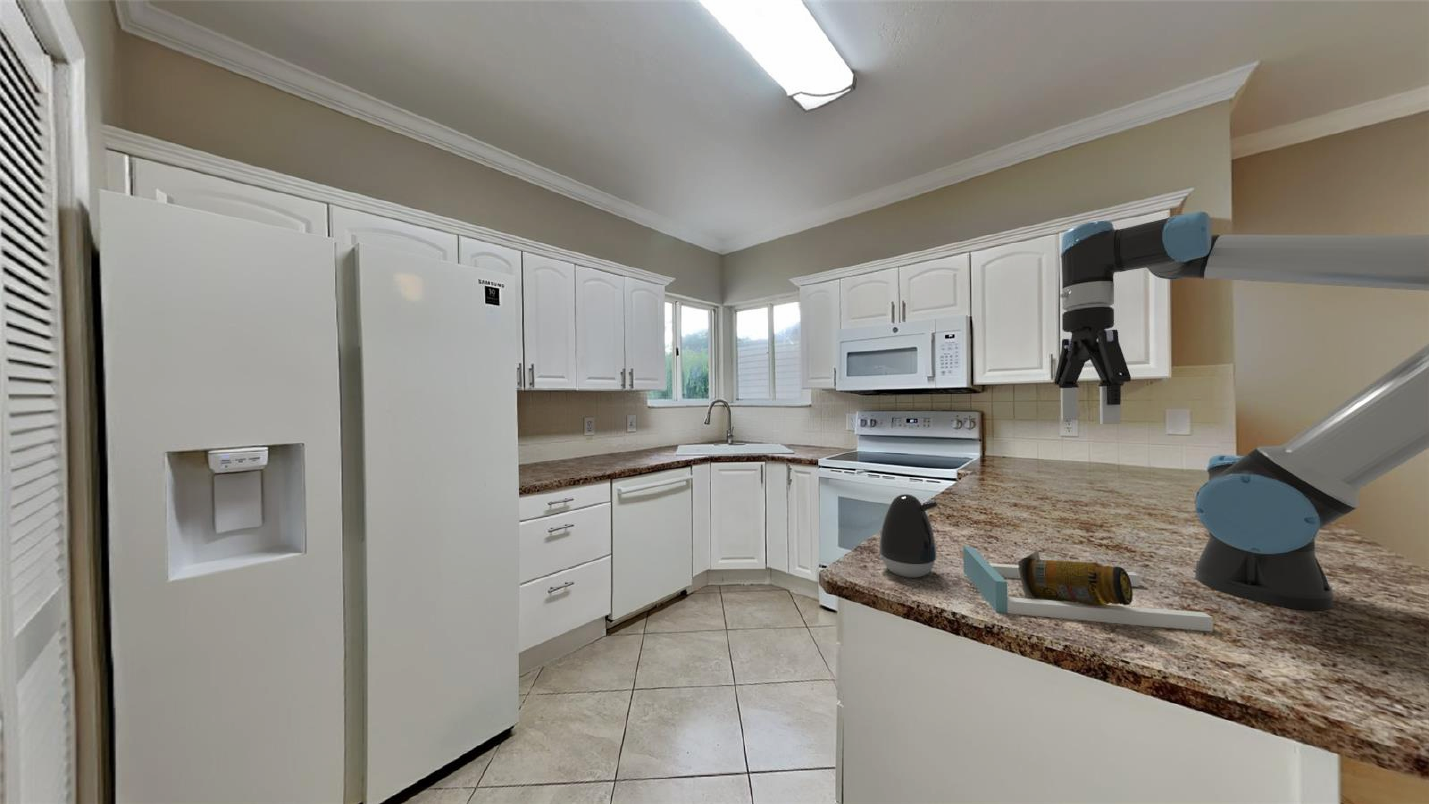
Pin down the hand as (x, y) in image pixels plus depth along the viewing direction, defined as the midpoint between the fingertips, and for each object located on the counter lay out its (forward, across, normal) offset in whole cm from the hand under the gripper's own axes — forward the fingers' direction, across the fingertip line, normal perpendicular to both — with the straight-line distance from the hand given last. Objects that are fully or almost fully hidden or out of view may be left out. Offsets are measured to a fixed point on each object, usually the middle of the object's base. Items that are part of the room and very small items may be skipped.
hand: (1088, 422), depth 86 cm
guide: (+29, +12, -8) cm, 32 cm away
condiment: (+25, +14, -15) cm, 33 cm away
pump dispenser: (+29, +6, -33) cm, 44 cm away
